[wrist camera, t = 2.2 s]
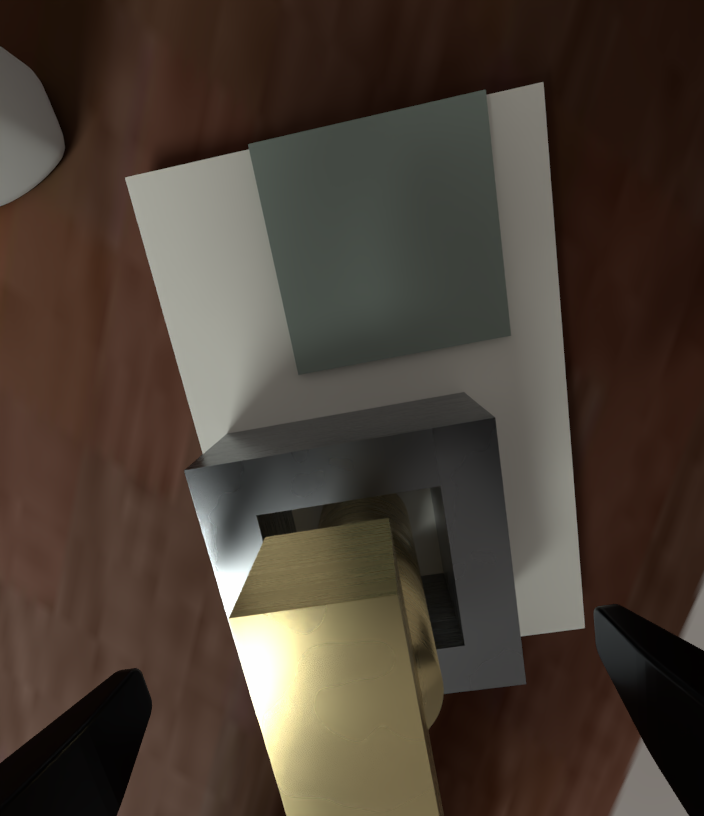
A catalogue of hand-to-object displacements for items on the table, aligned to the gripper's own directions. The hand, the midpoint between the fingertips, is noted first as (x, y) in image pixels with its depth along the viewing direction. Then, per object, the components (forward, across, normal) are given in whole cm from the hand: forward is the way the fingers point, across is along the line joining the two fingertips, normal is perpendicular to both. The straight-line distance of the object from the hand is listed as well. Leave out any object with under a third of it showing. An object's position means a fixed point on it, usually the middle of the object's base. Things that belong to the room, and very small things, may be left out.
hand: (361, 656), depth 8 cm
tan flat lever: (+5, 0, 0) cm, 5 cm away
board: (+6, -1, -3) cm, 7 cm away
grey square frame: (+5, 0, 0) cm, 5 cm away
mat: (+5, -2, -8) cm, 10 cm away
